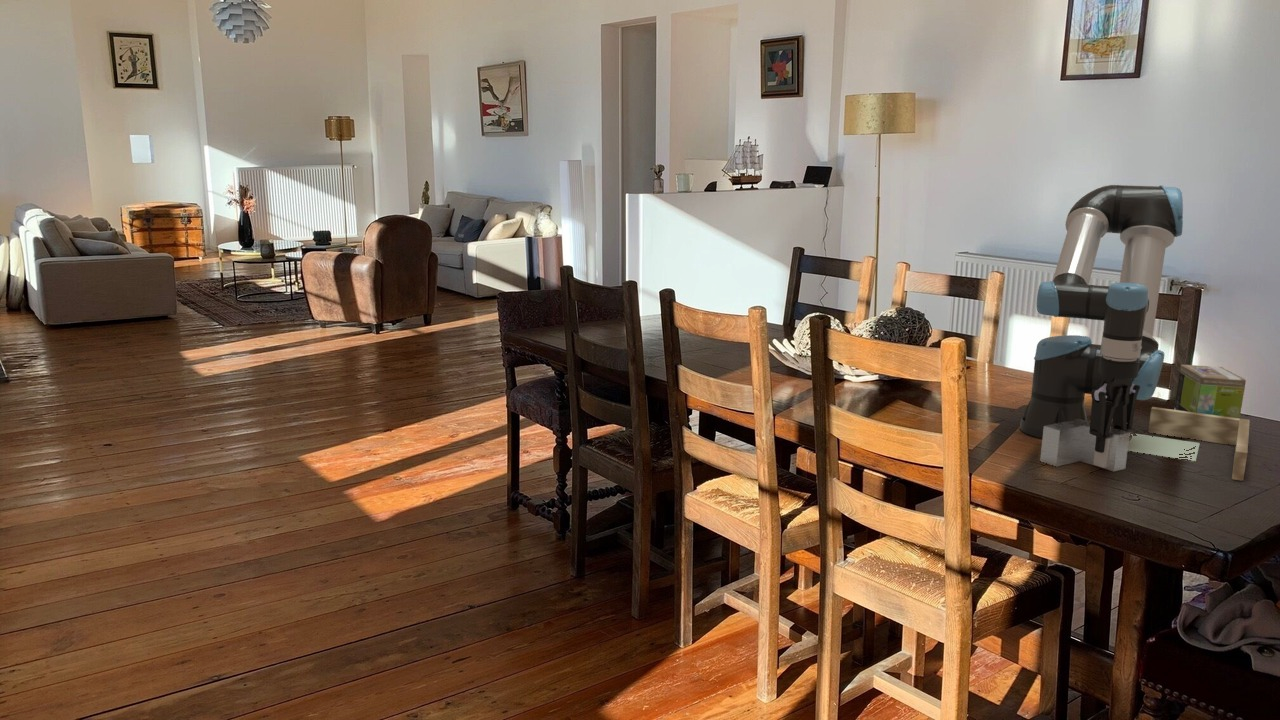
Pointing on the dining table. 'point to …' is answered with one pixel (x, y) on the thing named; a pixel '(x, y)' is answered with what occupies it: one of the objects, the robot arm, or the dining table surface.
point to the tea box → (1209, 391)
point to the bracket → (1081, 445)
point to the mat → (1163, 446)
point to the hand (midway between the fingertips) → (1106, 464)
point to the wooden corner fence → (1205, 431)
